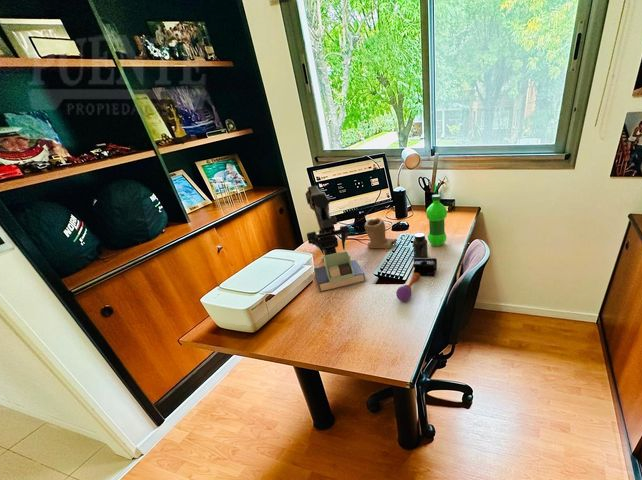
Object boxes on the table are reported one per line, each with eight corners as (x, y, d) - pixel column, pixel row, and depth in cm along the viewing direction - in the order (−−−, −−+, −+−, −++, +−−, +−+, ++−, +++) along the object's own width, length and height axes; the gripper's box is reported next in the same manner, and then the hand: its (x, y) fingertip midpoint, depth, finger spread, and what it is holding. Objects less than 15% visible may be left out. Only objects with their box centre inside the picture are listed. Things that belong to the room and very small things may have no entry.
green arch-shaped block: (327, 276, 142) (322, 255, 137) (351, 271, 145) (347, 250, 139) (330, 282, 138) (324, 261, 132) (354, 277, 140) (350, 255, 134)
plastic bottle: (444, 248, 166) (444, 198, 152) (425, 247, 169) (422, 198, 155) (449, 240, 174) (449, 192, 159) (430, 239, 177) (428, 192, 163)
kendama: (424, 271, 139) (409, 292, 123) (422, 283, 142) (407, 305, 126) (411, 268, 140) (394, 288, 124) (409, 280, 144) (393, 301, 128)
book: (316, 276, 152) (313, 268, 150) (357, 266, 157) (355, 259, 155) (320, 291, 140) (318, 283, 138) (365, 281, 145) (363, 273, 142)
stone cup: (364, 250, 172) (359, 223, 163) (372, 241, 181) (368, 215, 172) (391, 252, 168) (387, 224, 159) (398, 243, 177) (395, 215, 168)
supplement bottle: (411, 257, 161) (410, 234, 154) (424, 254, 163) (423, 231, 156) (417, 262, 156) (416, 238, 149) (430, 259, 158) (429, 235, 151)
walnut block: (340, 273, 143) (338, 265, 140) (349, 271, 144) (347, 262, 141) (342, 277, 139) (340, 269, 137) (351, 275, 140) (349, 266, 138)
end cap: (437, 269, 148) (436, 255, 144) (435, 276, 143) (435, 262, 139) (415, 269, 150) (414, 255, 146) (413, 276, 145) (412, 262, 141)
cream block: (329, 276, 141) (327, 267, 139) (339, 273, 142) (337, 265, 140) (331, 280, 138) (329, 271, 136) (341, 277, 139) (339, 269, 137)
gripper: (301, 214, 135) (310, 249, 132) (345, 206, 139) (355, 239, 137) (304, 227, 145) (313, 259, 143) (345, 219, 150) (354, 250, 148)
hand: (333, 252), depth 142 cm, fingers open, 9 cm apart
